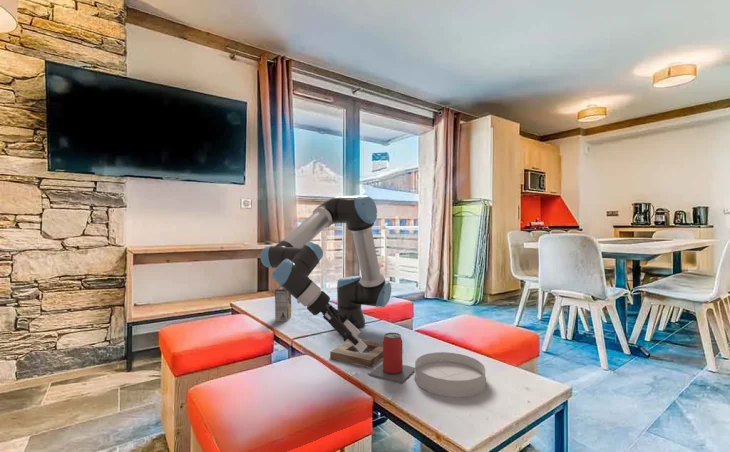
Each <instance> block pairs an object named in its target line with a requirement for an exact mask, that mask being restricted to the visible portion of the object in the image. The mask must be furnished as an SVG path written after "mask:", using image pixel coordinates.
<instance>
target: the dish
mask: <svg viewBox="0 0 730 452" xmlns="http://www.w3.org/2000/svg"><path fill="white" fill-rule="evenodd" d="M485 367H486V366H485V365H484V364H483V363H482V362H481V361H480V360H478V359H476V358H474V357H471V356H468V355H464V354H462V353H461V354H460V353H454V352H448V351H447V352H445V351H443V352H439V351H438V352H430V353H426V354H423V355H421V356H419V357H417V358H416V360H415V367H414V368H415V372H414V381H415V382H416V384H417V385H418V387H420V388H421V389H423V390H425V391H427V392H429V393H431V394H434V395H437V396H441V397H442V396H444V397H449V398H466V397H472V396H476V395H479V394H480V393H483V391H484V390H485V389H486V386H487V377H486V368H485Z"/></svg>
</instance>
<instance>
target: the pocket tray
mask: <svg viewBox="0 0 730 452" xmlns="http://www.w3.org/2000/svg"><path fill="white" fill-rule="evenodd" d="M359 339H360V340H361V341H362V342H364V343H365V344H366V345H367V348H366V349H365V350H364V351H367V352H368V353H363V352H362V353H361V352H359V351H358V350H357V349H356V348H355V347H354V346H353V345H352V344H351V343H350V342H349V341H347V342H346V341H345V342H344V343H343V344H341V345H339V346H337V347H335V348H333V349H331V350H330V351H329V355H330V356H329V357H330V359H333V360H338V361H341V362H345V363H349V364H354V365H356V366H363V367H367V368H371V367H374V365H376V364H377V363H379V361H381V360H383V342H379V341H378V342H377V341H373V340H367V339H363V338H359ZM357 351H358V352H357Z"/></svg>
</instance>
